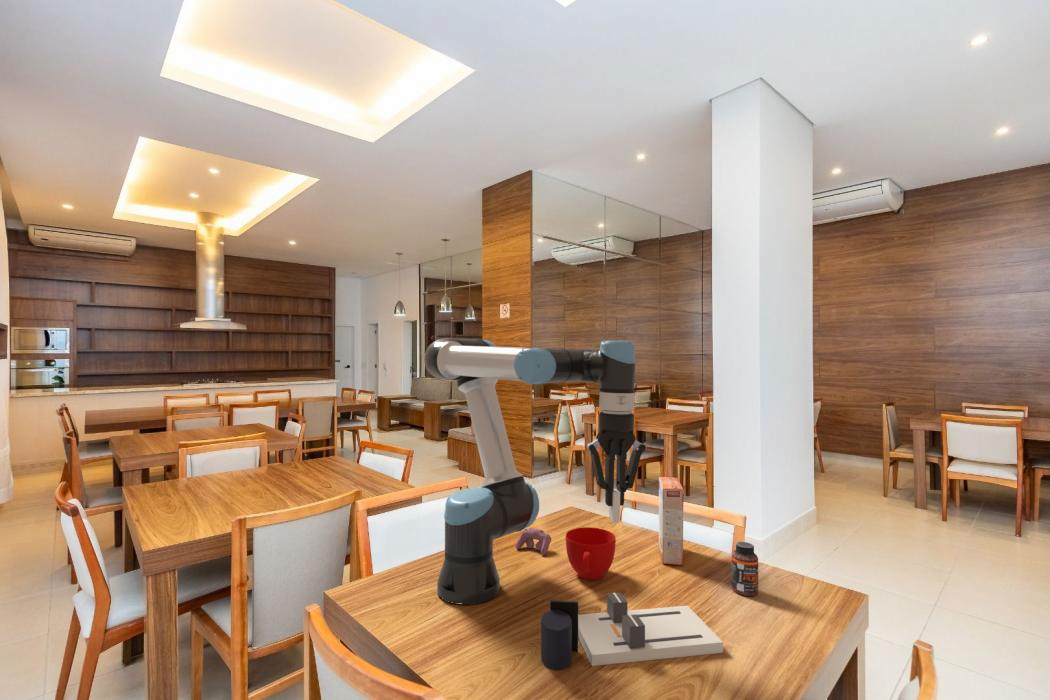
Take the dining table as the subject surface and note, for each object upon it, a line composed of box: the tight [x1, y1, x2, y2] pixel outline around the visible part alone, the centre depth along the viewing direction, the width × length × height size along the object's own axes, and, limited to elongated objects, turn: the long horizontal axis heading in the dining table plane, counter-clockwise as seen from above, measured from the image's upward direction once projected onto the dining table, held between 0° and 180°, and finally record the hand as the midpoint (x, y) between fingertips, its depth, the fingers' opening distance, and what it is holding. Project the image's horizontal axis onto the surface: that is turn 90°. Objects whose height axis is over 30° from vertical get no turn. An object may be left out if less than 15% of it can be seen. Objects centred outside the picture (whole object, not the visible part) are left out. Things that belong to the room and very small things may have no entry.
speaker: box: [540, 600, 579, 671], centre depth 91 cm, size 8×6×10 cm
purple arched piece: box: [515, 528, 552, 557], centre depth 144 cm, size 10×5×7 cm, turn 60°
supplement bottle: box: [730, 541, 759, 597], centre depth 118 cm, size 6×6×11 cm
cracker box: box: [658, 476, 685, 566], centre depth 140 cm, size 14×6×21 cm, turn 168°
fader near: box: [622, 614, 645, 648], centre depth 93 cm, size 3×4×4 cm
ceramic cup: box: [565, 526, 617, 581], centre depth 126 cm, size 13×17×10 cm
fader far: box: [606, 592, 628, 623], centre depth 102 cm, size 3×4×4 cm
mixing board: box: [578, 605, 724, 667], centre depth 98 cm, size 26×14×2 cm, turn 99°
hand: (614, 520), depth 106 cm, fingers closed
